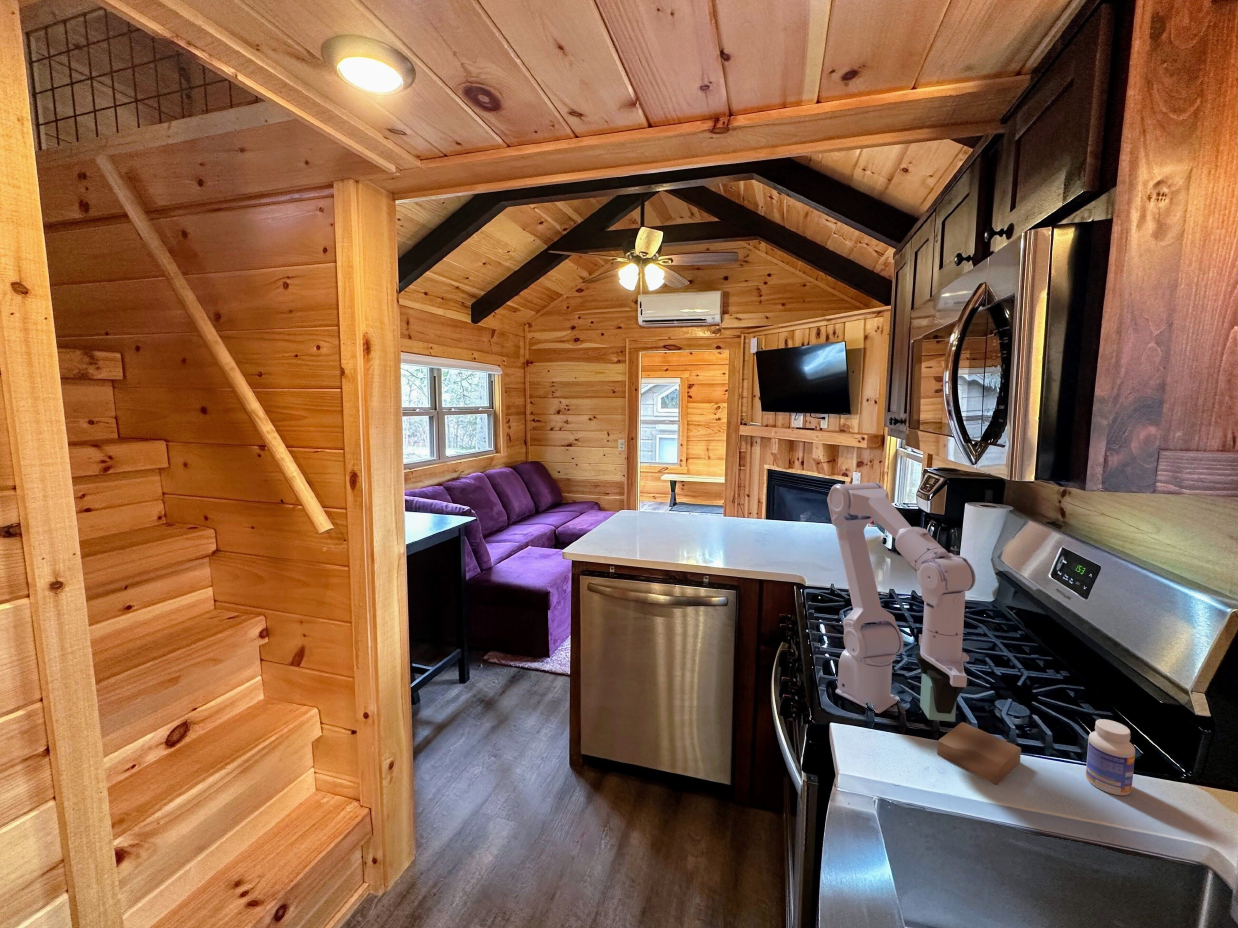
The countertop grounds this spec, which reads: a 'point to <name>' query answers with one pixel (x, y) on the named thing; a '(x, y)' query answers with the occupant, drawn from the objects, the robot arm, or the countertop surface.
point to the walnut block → (979, 752)
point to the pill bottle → (1110, 758)
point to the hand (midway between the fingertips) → (938, 704)
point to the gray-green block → (932, 702)
